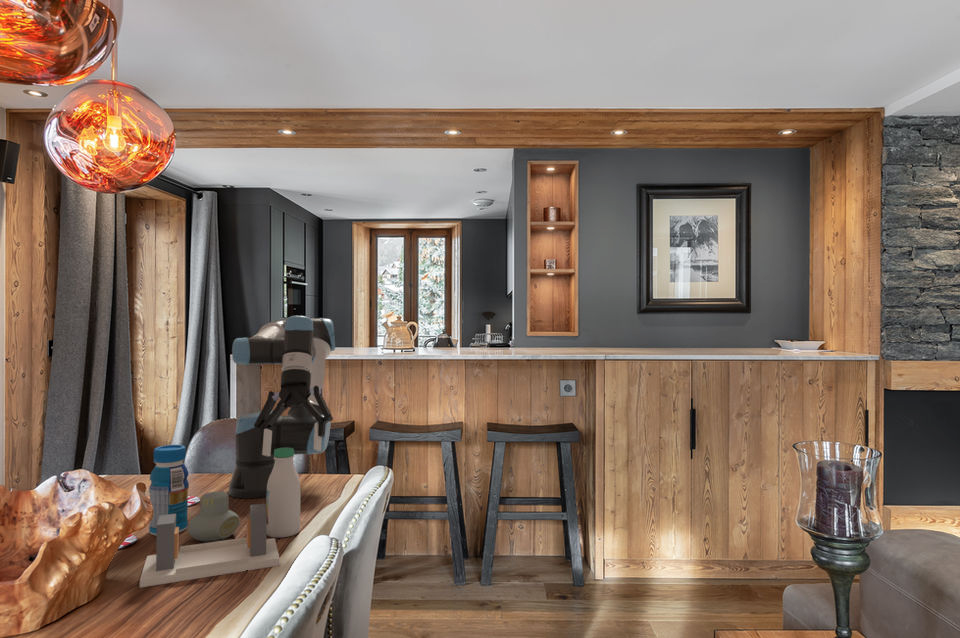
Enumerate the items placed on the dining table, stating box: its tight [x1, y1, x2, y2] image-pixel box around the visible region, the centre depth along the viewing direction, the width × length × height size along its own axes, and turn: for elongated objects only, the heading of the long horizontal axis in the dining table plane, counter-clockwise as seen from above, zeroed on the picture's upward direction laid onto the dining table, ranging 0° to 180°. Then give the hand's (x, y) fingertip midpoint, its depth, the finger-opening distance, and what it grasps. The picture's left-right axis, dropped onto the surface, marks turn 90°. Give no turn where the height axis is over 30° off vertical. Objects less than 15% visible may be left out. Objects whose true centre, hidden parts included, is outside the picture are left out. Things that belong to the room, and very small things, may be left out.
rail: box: [139, 503, 281, 588], centre depth 118 cm, size 12×25×10 cm, turn 114°
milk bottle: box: [265, 447, 301, 539], centre depth 136 cm, size 8×8×20 cm
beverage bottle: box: [148, 444, 190, 537], centre depth 137 cm, size 8×8×20 cm
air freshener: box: [187, 491, 241, 543], centre depth 133 cm, size 11×8×10 cm
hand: (291, 453), depth 143 cm, fingers open, 13 cm apart
